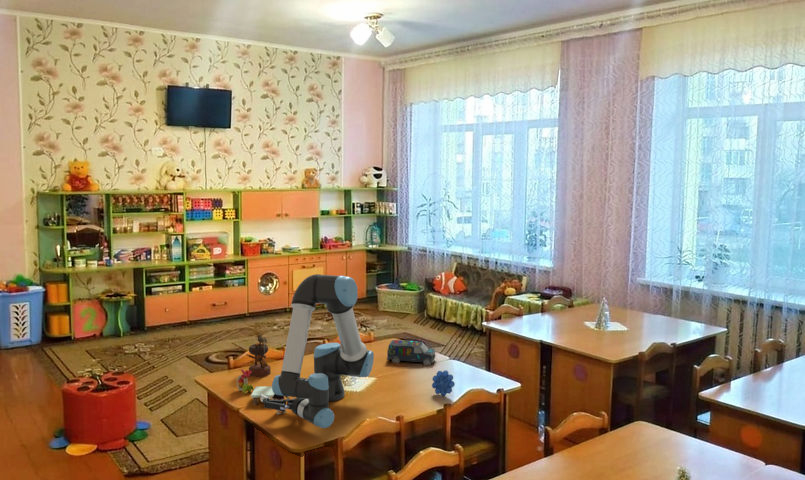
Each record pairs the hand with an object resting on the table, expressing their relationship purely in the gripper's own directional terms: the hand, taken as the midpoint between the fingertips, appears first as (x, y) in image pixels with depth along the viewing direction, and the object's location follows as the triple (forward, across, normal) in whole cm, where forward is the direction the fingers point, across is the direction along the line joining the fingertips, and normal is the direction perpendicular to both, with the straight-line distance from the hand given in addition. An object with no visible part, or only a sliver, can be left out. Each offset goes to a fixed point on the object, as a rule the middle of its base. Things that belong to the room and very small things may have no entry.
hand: (275, 393), depth 274 cm
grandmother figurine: (-3, 0, -8) cm, 8 cm away
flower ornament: (+29, +1, -8) cm, 30 cm away
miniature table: (+13, +3, -8) cm, 15 cm away
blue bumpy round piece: (-33, +66, -8) cm, 75 cm away
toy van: (+14, +90, -8) cm, 92 cm away
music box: (+48, +19, -8) cm, 52 cm away
